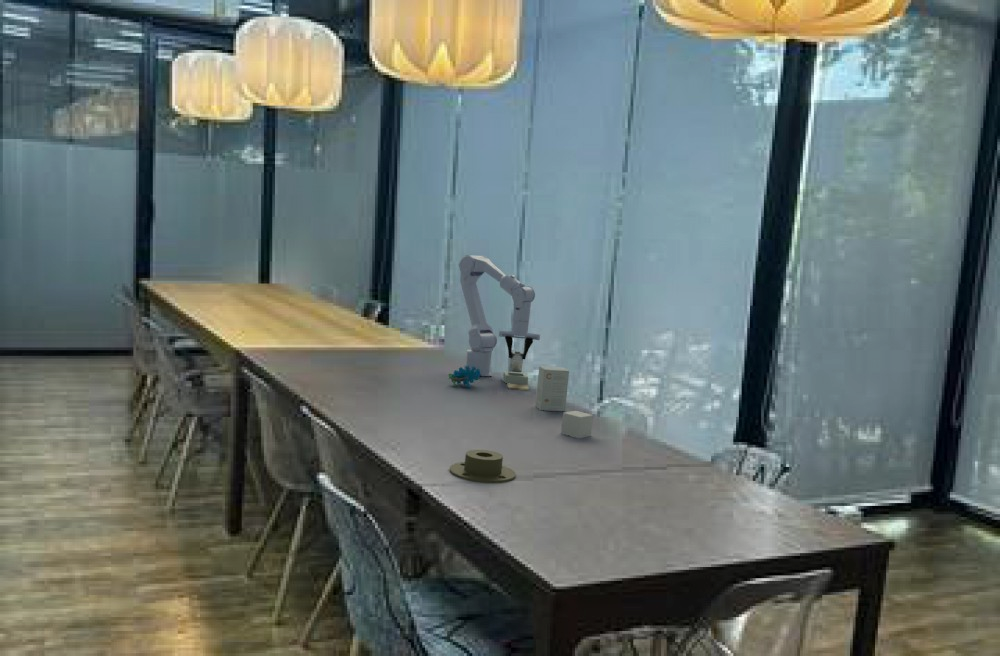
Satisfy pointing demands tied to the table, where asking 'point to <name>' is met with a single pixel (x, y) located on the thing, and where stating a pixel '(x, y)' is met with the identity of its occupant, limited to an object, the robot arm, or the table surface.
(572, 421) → the light grey cube
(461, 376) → the toy stegosaurus
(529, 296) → the robot arm
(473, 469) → the flange
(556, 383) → the small box
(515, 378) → the housing
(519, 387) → the coaster
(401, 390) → the table surface
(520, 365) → the grey cylinder
